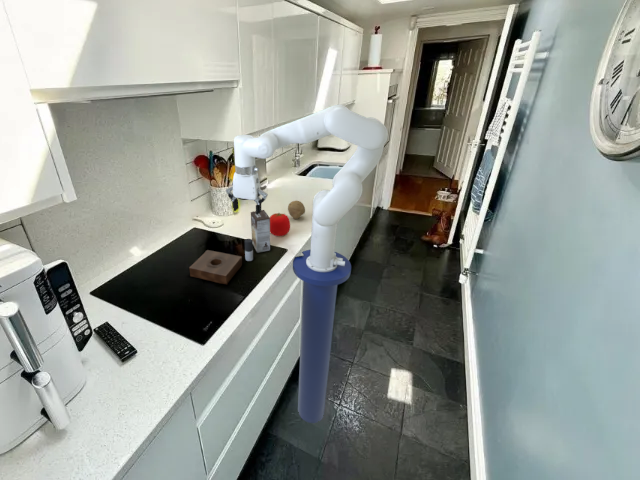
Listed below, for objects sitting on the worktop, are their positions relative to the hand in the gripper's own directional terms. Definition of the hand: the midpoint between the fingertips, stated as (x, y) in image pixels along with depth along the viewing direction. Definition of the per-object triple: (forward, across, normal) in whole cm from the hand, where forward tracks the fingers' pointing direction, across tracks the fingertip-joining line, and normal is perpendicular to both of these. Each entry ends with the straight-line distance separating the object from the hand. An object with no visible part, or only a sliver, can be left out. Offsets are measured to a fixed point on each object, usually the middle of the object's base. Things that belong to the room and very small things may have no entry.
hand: (247, 211), depth 122 cm
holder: (+21, +8, +14) cm, 27 cm away
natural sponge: (+21, -8, -44) cm, 49 cm away
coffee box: (+21, -2, -10) cm, 23 cm away
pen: (+21, -1, +2) cm, 21 cm away
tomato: (+21, -6, -24) cm, 32 cm away
